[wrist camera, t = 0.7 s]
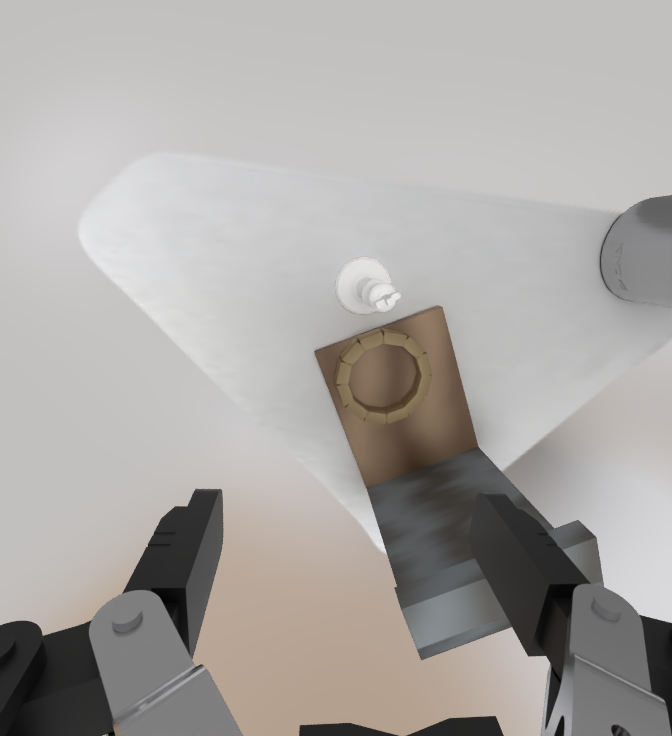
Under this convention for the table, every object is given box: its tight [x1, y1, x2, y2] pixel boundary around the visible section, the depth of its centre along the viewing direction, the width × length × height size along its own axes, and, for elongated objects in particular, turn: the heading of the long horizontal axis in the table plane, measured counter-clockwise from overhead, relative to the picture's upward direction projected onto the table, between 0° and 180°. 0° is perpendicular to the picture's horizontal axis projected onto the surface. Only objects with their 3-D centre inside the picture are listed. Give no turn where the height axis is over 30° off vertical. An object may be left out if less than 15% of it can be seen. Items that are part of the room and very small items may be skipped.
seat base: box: [315, 306, 604, 660], centre depth 30 cm, size 12×16×18 cm
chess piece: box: [335, 257, 401, 315], centre depth 29 cm, size 5×5×10 cm
